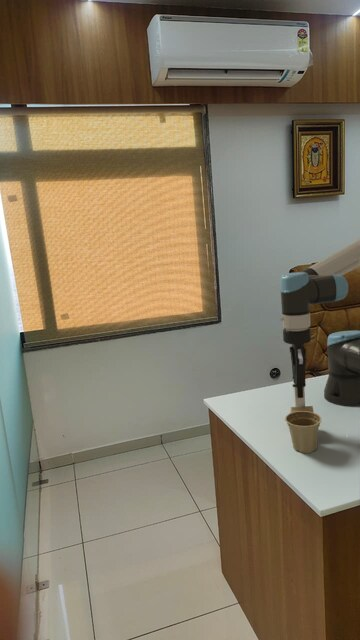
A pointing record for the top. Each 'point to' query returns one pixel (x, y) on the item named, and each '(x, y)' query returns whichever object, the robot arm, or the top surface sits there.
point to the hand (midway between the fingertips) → (300, 406)
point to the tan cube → (302, 409)
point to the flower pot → (303, 430)
